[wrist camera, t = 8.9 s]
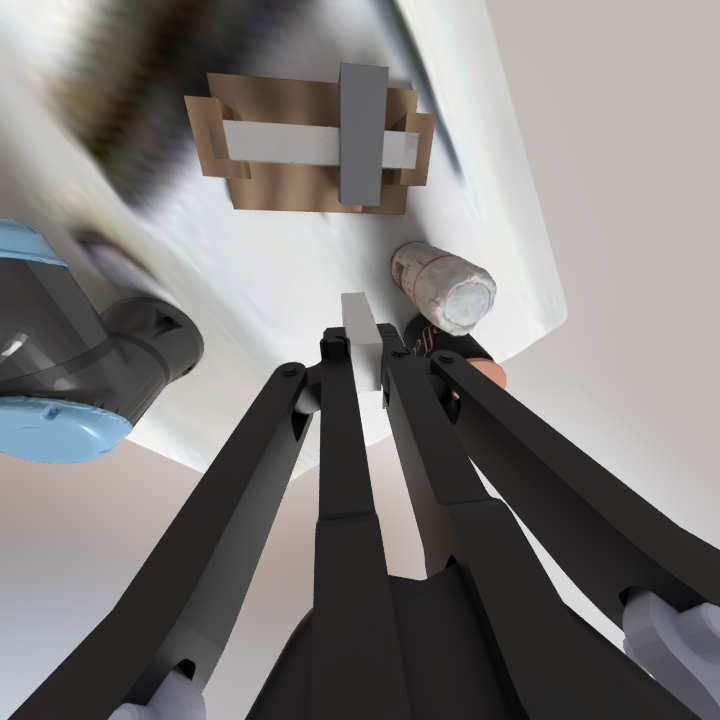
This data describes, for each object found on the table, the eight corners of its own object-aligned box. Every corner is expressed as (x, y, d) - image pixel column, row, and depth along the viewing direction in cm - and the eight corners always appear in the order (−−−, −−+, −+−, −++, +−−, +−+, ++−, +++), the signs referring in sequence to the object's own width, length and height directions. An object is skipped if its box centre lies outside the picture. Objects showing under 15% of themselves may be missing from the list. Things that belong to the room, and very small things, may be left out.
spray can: (398, 232, 41) (446, 263, 24) (445, 243, 42) (520, 279, 26) (384, 285, 45) (416, 341, 29) (427, 293, 47) (482, 350, 30)
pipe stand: (237, 208, 37) (212, 214, 29) (211, 77, 30) (169, 37, 22) (402, 213, 39) (420, 220, 32) (415, 94, 32) (443, 64, 24)
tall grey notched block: (337, 200, 35) (341, 204, 27) (336, 97, 30) (340, 62, 21) (367, 201, 35) (379, 206, 27) (371, 100, 30) (388, 67, 22)
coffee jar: (446, 297, 48) (500, 347, 33) (460, 341, 53) (512, 401, 39) (393, 323, 50) (422, 382, 35) (412, 363, 55) (444, 428, 40)
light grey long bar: (225, 164, 29) (214, 162, 26) (217, 121, 27) (203, 113, 24) (406, 173, 32) (415, 171, 29) (411, 134, 30) (420, 128, 27)
